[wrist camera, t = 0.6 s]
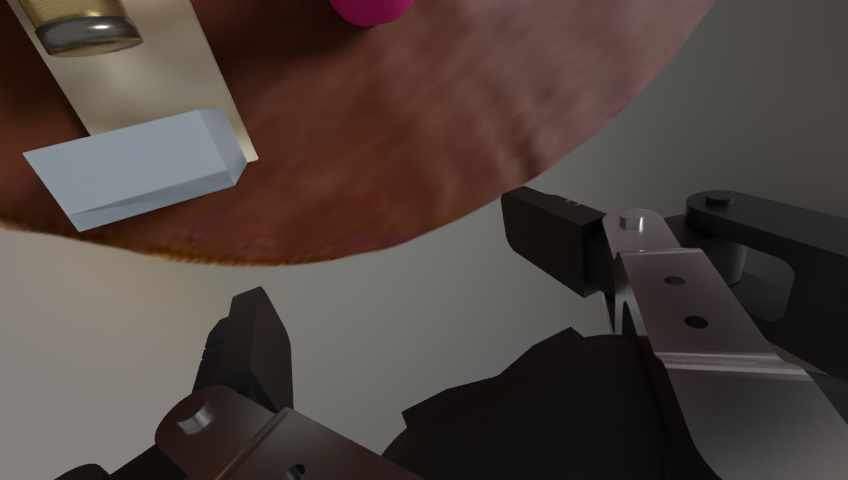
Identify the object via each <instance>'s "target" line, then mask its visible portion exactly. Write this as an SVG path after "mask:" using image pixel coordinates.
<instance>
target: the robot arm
mask: <svg viewBox="0 0 848 480" xmlns="http://www.w3.org/2000/svg"><path fill="white" fill-rule="evenodd" d="M501 205H502V212H503V219H504V226H505V232H506V238H507V241H508V243H509V245H510V246H511V248H512V249H513V250H514V251H515V252H516V253H518V254H519V255H521V256H522V257H524V258H525V259H527V260H528V261H530V262H531V263H533V264H534V265H536V266H537V267H539V268H540V269H542V270H543V271H545V272H546V273H547V274H549V275H551V276H552V277H553V278H555V279H556V280H558V281H559V282H561V283H562V284H564V285H565V286H567V287H568V288H570V289H571V290H573V291H574V292H576V293H577V294H579V295H580V296H582V297H583V298H585V297H587V296H589V295H591V294H594V293H596V292H598V291H602V292H603V305H604V310H605V314H606V319H607V323H608V327H609V332H610V334H609V335H596V336H589V337H583V336H582V335H580V334H579V333H578V332H577V331H575V330H574V329H573V328H572V327H569V328H567V329H566V330H563V331H561V332H559V333H557V334H555V335H553V336H551V337H549V338H547V339H545V340H543V341H541V342H539V343H537V344H535V345H533V346H532V347H531V348H530V349H529V350H528V351H526V352H525V353H524V354H523V355H522V356H520V357H519V358H518V359H517V360H516V361H515V362H514V363H512V364H511V365H510V366H509V367H508V368H507V369H506V370H504V371H503V372H502V373H501V374H499V375H498V376H495V377H492V378H488V379H484V380H481V381H477V382H473V383H469V384H465V385H461V386H457V387H454V388H449V389H446V390H444V391H442V392H440V393H438V394H436V395H435V396H432V397H430V398H428V399H426V400H424V401H423V402H421V403H418V404H416V405H414V406H413V407H410V408H409V409H407V410H405V411H403V412H402V415H403V418H404V420H405V423H406V426H407V428H406V429H405V430H404V431H403V432H402V433H400V434H399V435H398V436H397V437H396V438H395V439H394V440H393V442H392V443H391V444H390V445H389V446H388V447H387V449H386V450H385V451H384V453H383V454H382V455H381V456H380V455H378V454H376V453H374V452H372V451H371V450H368V449H367V448H364V447H363V446H361V445H359V444H357V443H355V442H354V441H352V440H350V439H348V438H346V437H344V436H342V435H340V434H338V433H337V432H334V431H333V430H331V429H329V428H327V427H325V426H323V425H321V424H320V423H318V422H316V421H314V420H312V419H310V418H308V417H306V416H305V415H303V414H301V413H299V412H297V411H295V410H294V407H293V385H292V364H291V345H290V340H289V337H288V334H287V332H286V329H285V327H284V325H283V323H282V322H281V320H280V318H279V316H278V314H277V312H276V310H275V309H274V307H273V305H272V303H271V301H270V299H269V298H268V296H267V294H266V292H265V291H264V289H263V288H262V287H260V286H259V287H257V288H254V289H252V290H249V291H247V292H244V293H241V294H238V295H236V296H234V297H233V299H232V303H231V308H230V312H229V316H228V317H226V318H223V319H221V320H219V322H218V323H217V324H216V325H215V327H214V328H213V329H212V331H211V332H210V333H209V335H208V338H207V342H206V345H205V348H206V349H205V350H204V352H203V356H202V359H203V360H202V361H201V363H200V366H199V370H198V373H197V376H196V380H195V383H194V387H193V390H192V394H190V395H189V396H187V397H186V398H184V399H183V400H181V401H180V402H179V403H178V404H177V405H175V406H174V407H173V408H172V409H171V410H170V411H169V412H168V413H167V415H166V416H165V417H164V418H163V420H162V421H161V423H160V424H159V426H158V428H157V430H156V433H155V445H153V446H152V447H151V448H149V449H148V450H146V451H145V452H143V453H142V454H140V455H139V456H138V457H136V458H134V459H133V460H131V461H130V462H128V463H127V464H125V465H124V466H123V467H121V468H120V469H118V470H117V471H115V472H114V473H112V474H111V475H110V474H108V473H107V472H106V471H105V470H104V469H103V468H102V467H101V466H99V465H97V464H86V465H82V466H79V467H77V468H74V469H72V470H70V471H68V472H66V473H64V474H63V475H61V476H60V477H58V478H56V479H55V480H848V219H846V218H842V217H838V216H833V215H830V214H826V213H821V212H817V211H813V210H809V209H805V208H801V207H797V206H792V205H789V204H785V203H781V202H776V201H772V200H768V199H764V198H760V197H756V196H752V195H748V194H744V193H739V192H734V191H725V190H716V191H715V190H712V191H704V192H699V193H696V194H693V195H691V196H689V197H688V198H687V200H686V209H685V214H682V215H677V216H673V217H668V218H663V217H662V216H661V215H659V214H658V213H656V212H653V211H650V210H646V209H637V208H635V209H634V208H630V209H621V210H616V211H613V212H610V213H608V214H606V213H603V212H601V211H598V210H595V209H593V208H590V207H587V206H585V205H582V204H580V205H579V204H578V203H576V202H574V201H569V200H568V199H566V198H563V197H560V196H557V195H549V194H544V193H542V192H539V191H536V190H534V189H531V188H528V187H526V186H522V187H519V188H516V189H514V190H511V191H509V192H506V193H503V194H502V197H501ZM747 247H750V248H753V249H755V250H758V251H761V252H764V253H766V254H769V255H772V256H775V257H778V258H780V259H782V260H784V261H786V262H787V263H788V264H789V265H790V266H791V268H792V269H793V271H794V274H795V279H794V282H793V286H792V289H791V291H788V290H785V289H783V288H781V287H779V286H776V285H774V284H772V283H769V282H767V281H765V280H762V279H760V278H757V277H755V276H753V275H750V274H748V273H745V272H743V271H742V269H743V264H744V259H745V254H746V250H747ZM766 340H767V341H769V342H771V343H773V344H774V345H776V346H778V347H780V348H782V349H784V350H786V351H787V352H789V353H791V354H793V355H794V356H796V357H798V358H800V359H802V360H804V361H805V362H807V363H809V364H811V365H813V366H815V367H816V368H818V369H820V370H822V371H824V372H826V373H827V374H829V375H825V374H820V373H815V372H811V371H805V370H803V369H802V368H800V367H799V366H797V365H795V364H791V363H786V362H784V361H783V360H781V359H780V358H779V357H778V356H777V355H776V353H775V352H774V350H773V349H772V348H771V346H770V345H769V343H768V342H767V341H766ZM830 375H831V376H830Z"/></svg>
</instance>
